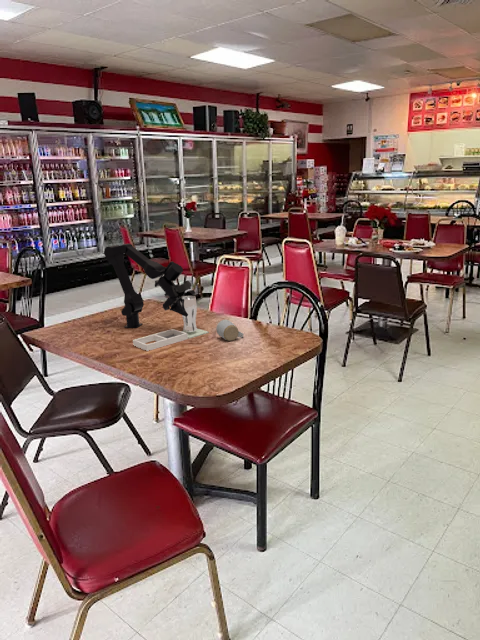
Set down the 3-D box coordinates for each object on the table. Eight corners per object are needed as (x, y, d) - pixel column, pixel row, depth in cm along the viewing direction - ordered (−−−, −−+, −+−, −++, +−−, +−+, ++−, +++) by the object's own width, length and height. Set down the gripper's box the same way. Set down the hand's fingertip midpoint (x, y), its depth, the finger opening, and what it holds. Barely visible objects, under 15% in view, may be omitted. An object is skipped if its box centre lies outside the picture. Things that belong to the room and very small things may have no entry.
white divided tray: (147, 351, 193) (146, 345, 193) (133, 345, 201) (132, 340, 200) (208, 332, 214) (208, 327, 214) (194, 328, 222) (193, 323, 221)
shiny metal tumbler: (193, 327, 218) (191, 294, 214) (200, 330, 213) (198, 297, 208) (179, 329, 215) (177, 297, 211) (186, 333, 209) (184, 300, 205)
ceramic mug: (224, 343, 199) (223, 325, 197) (216, 337, 206) (215, 320, 204) (247, 339, 204) (246, 321, 202) (238, 334, 211) (238, 317, 209)
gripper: (166, 279, 201) (189, 307, 199) (191, 272, 217) (213, 297, 215) (152, 296, 207) (175, 324, 205) (178, 287, 223) (199, 313, 221)
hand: (191, 314), depth 211 cm, fingers closed on shiny metal tumbler, 6 cm apart
